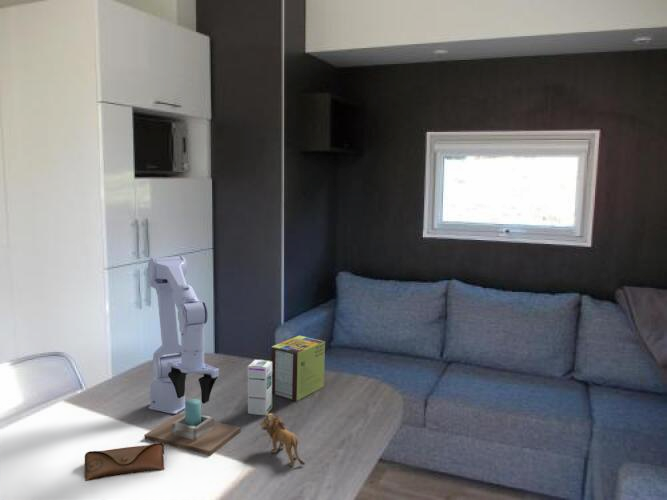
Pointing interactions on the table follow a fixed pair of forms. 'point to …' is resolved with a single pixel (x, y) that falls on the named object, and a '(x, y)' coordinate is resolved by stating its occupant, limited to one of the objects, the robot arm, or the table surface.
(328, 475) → the table surface
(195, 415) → the peg
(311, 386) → the protein box
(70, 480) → the table surface
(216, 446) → the socket board
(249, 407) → the syrup box
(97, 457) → the sunglasses case
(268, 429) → the lion figurine
